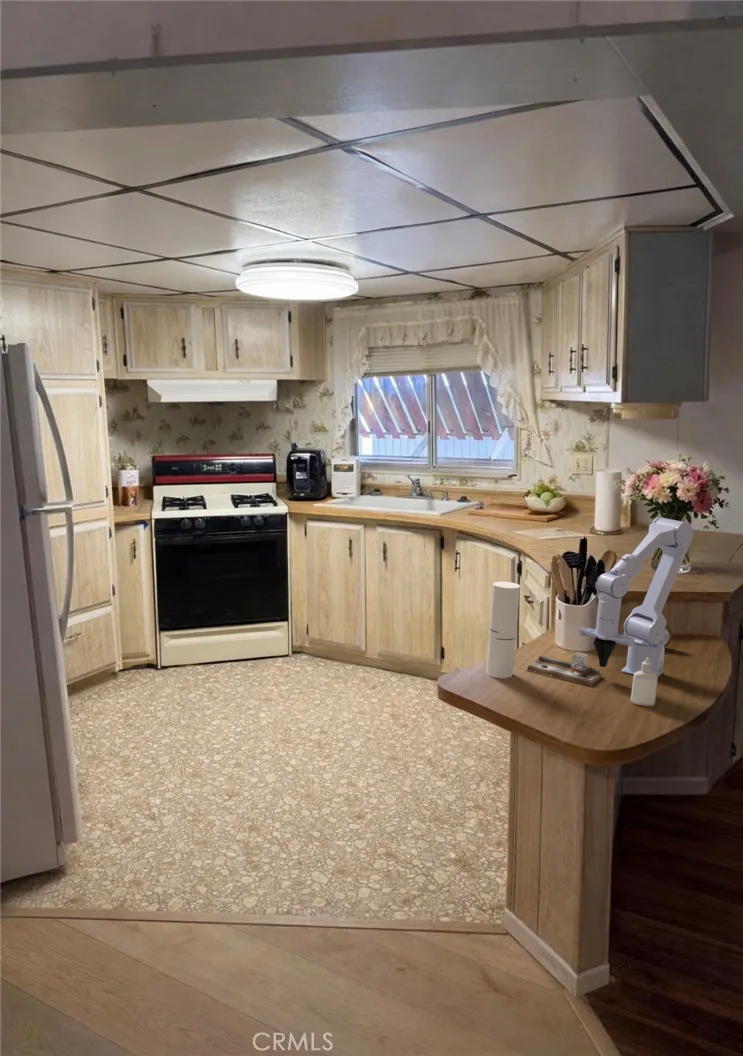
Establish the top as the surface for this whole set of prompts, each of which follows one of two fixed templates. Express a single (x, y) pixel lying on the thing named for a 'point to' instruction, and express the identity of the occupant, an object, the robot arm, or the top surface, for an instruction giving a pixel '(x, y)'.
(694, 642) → the top surface
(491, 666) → the cylindrical container
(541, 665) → the gauge board
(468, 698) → the top surface
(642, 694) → the eye dropper bottle
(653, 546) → the robot arm
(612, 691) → the top surface
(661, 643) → the tin
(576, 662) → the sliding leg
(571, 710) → the top surface
